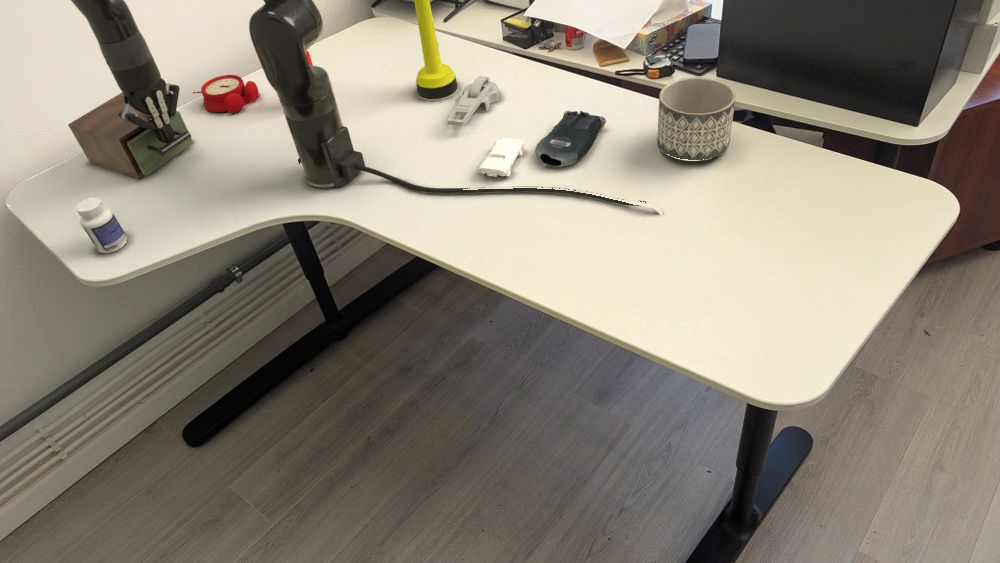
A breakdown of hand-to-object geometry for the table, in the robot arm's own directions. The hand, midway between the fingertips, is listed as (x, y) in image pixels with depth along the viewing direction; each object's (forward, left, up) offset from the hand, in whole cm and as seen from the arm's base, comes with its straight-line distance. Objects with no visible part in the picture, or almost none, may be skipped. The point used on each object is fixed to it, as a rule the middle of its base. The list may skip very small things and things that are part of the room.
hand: (169, 141), depth 141 cm
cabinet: (+12, 0, -6) cm, 13 cm away
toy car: (-61, -24, -6) cm, 66 cm away
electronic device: (-70, -33, -6) cm, 78 cm away
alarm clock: (+8, -23, -6) cm, 25 cm away
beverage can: (-10, -29, -6) cm, 31 cm away
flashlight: (-34, -43, -6) cm, 55 cm away
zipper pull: (-46, -38, -6) cm, 60 cm away
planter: (-91, -41, -6) cm, 100 cm away
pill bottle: (-8, +23, -6) cm, 25 cm away
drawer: (+7, 0, -5) cm, 8 cm away
